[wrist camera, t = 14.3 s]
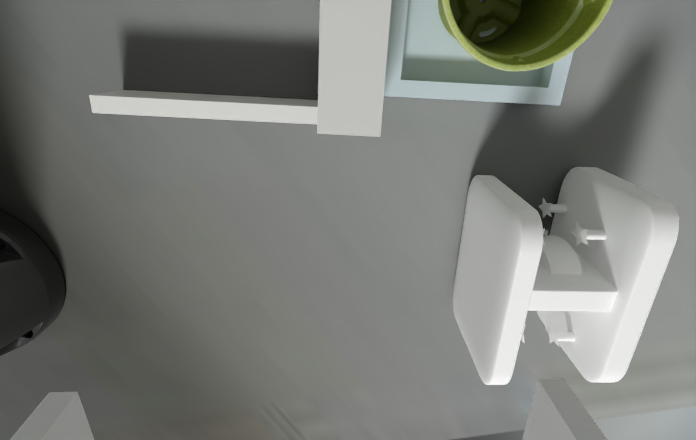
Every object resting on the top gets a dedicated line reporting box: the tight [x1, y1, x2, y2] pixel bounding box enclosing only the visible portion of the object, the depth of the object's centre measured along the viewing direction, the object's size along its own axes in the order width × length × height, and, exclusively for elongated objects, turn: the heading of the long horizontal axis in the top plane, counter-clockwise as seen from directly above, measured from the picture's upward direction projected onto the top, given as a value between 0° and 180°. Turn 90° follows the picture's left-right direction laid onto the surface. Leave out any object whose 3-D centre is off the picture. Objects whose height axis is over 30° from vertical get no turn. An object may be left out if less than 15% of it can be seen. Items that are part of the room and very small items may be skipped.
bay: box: [89, 0, 392, 137], centre depth 26 cm, size 20×14×8 cm
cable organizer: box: [453, 167, 679, 385], centre depth 31 cm, size 15×11×12 cm
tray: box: [384, 0, 574, 105], centre depth 28 cm, size 13×13×2 cm
